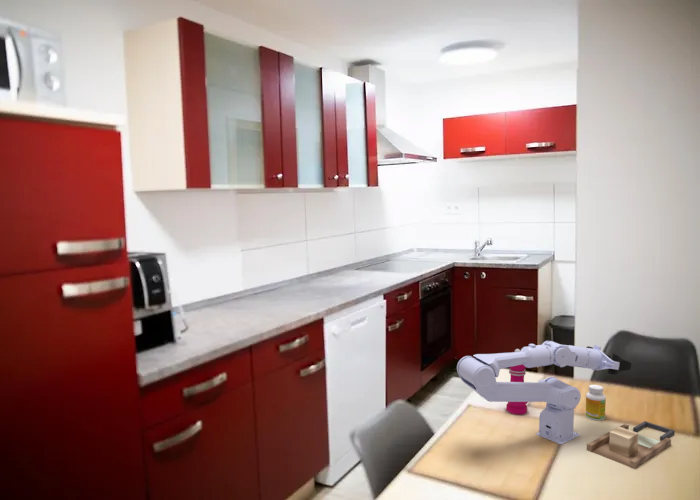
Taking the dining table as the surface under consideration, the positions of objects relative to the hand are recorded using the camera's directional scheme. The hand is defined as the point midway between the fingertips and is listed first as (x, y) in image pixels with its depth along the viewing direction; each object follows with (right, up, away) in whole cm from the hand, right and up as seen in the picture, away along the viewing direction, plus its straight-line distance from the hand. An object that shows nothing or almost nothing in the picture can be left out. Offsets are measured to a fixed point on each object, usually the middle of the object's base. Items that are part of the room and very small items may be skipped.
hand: (619, 362), depth 154 cm
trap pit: (+8, -19, -4) cm, 21 cm away
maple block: (-6, -20, -14) cm, 26 cm away
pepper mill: (-26, -18, +14) cm, 34 cm away
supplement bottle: (-4, -19, +7) cm, 20 cm away
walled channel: (-4, -20, -13) cm, 24 cm away
